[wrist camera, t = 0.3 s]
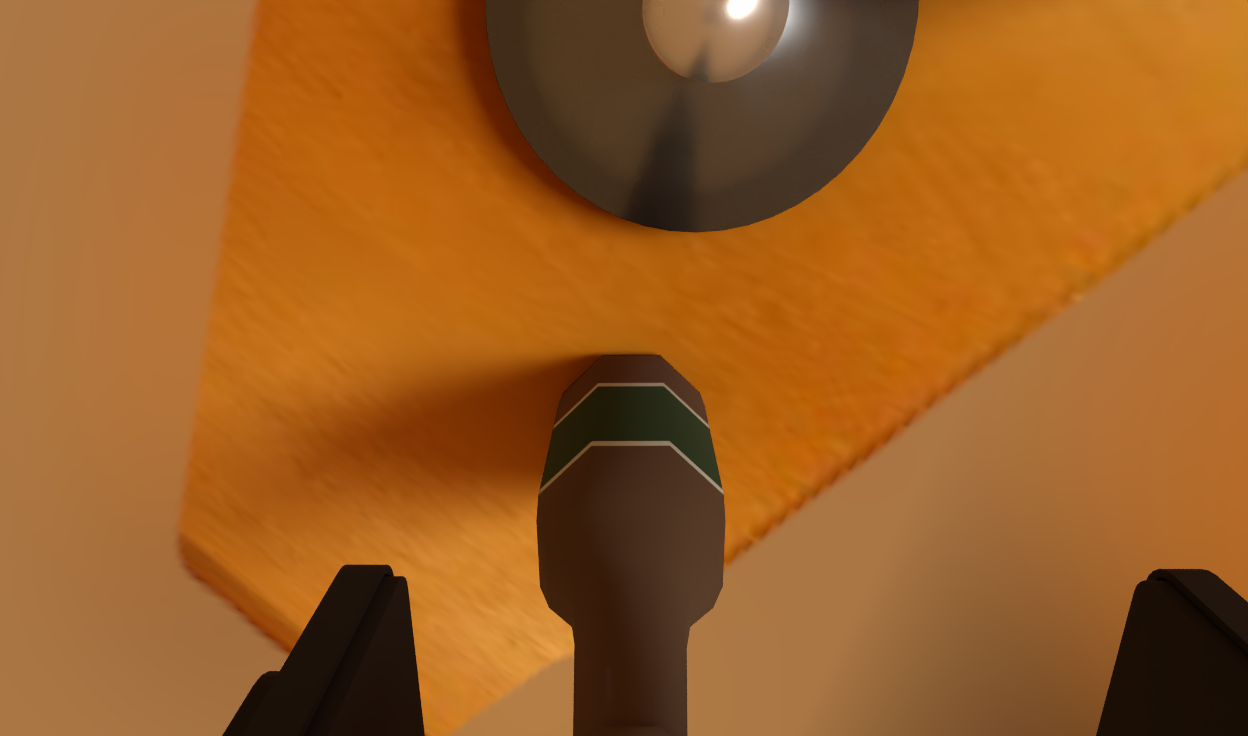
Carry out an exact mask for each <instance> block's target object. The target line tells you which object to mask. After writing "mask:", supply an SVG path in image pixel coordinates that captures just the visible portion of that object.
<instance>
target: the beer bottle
mask: <svg viewBox="0 0 1248 736" xmlns="http://www.w3.org/2000/svg"><path fill="white" fill-rule="evenodd" d="M537 538H538V557H539V575H540V587H541V590H542V592H543V594H544V597H545V599H546V601H547V604H548V606H549V608H550V609H551V610H553V611H554V612H555V613H556V614H557V615H558V616H560V617H561V618H562V619H563V620H564V621H566V622H567V623H568V624H569V625H570V626H571V627H572V630H573V637H574V644H575V651H574V717H573V736H687V659H686V658H687V652H686V651H687V643H688V636H689V630H690V627H691V626H692V625H693V624H694V623H695V622H697V621H698V620H699V619H700V618H701V617H702V616H704V615H705V614H706V613H707V612H709V611H710V610H711V609H712V608H713V607H714V604H715V602H716V600H717V598H718V596H719V593H720V591H721V589H722V587H723V564H724V540H725V508H724V494H723V489H722V485H721V480H720V476H719V471H718V466H717V462H716V457H715V452H714V448H713V443H712V438H711V434H710V429H709V424H708V420H707V415H706V411H705V406H704V403H703V400H702V398H701V395H700V392H698V391H697V390H696V389H695V388H694V387H693V386H692V385H691V384H690V383H689V382H688V381H687V380H686V379H685V378H684V377H683V376H682V375H680V374H679V373H678V372H677V371H676V370H675V369H674V368H673V367H672V366H671V365H670V364H669V363H668V362H667V361H666V360H665V359H664V358H663V357H661V356H660V355H602V356H601V357H600V358H599V359H598V360H597V361H596V362H595V363H594V364H593V365H592V366H591V367H590V368H589V369H588V370H587V371H586V372H585V373H584V374H582V375H581V376H580V377H579V378H578V379H577V380H576V381H575V382H574V383H573V384H572V385H571V386H570V387H569V388H568V389H567V390H566V391H565V392H564V393H563V395H562V398H561V400H560V403H559V405H558V410H557V414H556V419H555V423H554V428H553V432H552V437H551V441H550V446H549V450H548V455H547V459H546V463H545V468H544V472H543V477H542V481H541V486H540V490H539V495H538V508H537Z"/></svg>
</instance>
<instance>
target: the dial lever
mask: <svg viewBox="0 0 1248 736" xmlns="http://www.w3.org/2000/svg"><path fill="white" fill-rule="evenodd" d="M788 12H789V0H643V2H642V11H641V23H642V30H643V35H644V38H645V41H646V44H647V46H648V48H649V50H650V52H651V53H652V55H653V57H654V58H655V59H656V60H657V62H658V63H659V64H660V65H661V66H662V67H664V68H665V69H666V70H668V71H669V72H670V73H672V74H674V75H676V76H678V77H681V78H684V79H687V80H692V81H700V82H711V83H716V82H725V81H730V80H733V79H736V78H739V77H742V76H743V75H745V74H747V73H749V72H751V71H752V70H754V69H755V68H756V67H758V66H759V65H760V64H761V63H762V62H763V61H765V60H766V58H767V57H768V56H769V55H770V54H771V53H772V51H773V50H774V48H775V47H776V45H777V44H778V42H779V40H780V38H781V36H782V34H783V31H784V28H785V25H786V22H787V17H788Z"/></svg>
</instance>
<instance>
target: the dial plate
mask: <svg viewBox="0 0 1248 736" xmlns="http://www.w3.org/2000/svg"><path fill="white" fill-rule="evenodd" d="M642 2H643V0H486V26H487V34H488V42H489V50H490V54H491V58H492V62H493V66H494V70H495V74H496V78H497V81H498V84H499V86H500V89H501V91H502V94H503V97H504V99H505V102H506V105H507V107H508V109H509V111H510V113H511V114H512V116H513V118H514V120H515V122H516V124H517V126H518V128H519V130H520V131H521V133H522V134H523V136H524V137H525V139H526V140H527V141H528V143H529V144H530V146H531V147H532V149H533V150H534V152H535V153H536V154H537V155H538V157H539V158H540V159H541V160H542V161H543V162H544V163H545V164H546V165H547V167H548V168H549V169H550V170H551V171H552V172H553V173H554V174H555V175H556V176H557V177H558V178H559V179H561V180H562V181H563V182H564V183H565V184H566V185H567V186H569V187H570V188H571V189H572V190H573V191H574V192H576V193H577V194H579V195H580V196H582V197H583V198H585V199H586V200H588V201H590V202H591V203H593V204H594V205H596V206H597V207H599V208H601V209H603V210H605V211H607V212H610V213H612V214H614V215H616V216H618V217H620V218H623V219H626V220H629V221H632V222H635V223H638V224H641V225H644V226H648V227H653V228H658V229H663V230H669V231H682V232H708V231H722V230H727V229H732V228H737V227H741V226H746V225H750V224H753V223H756V222H759V221H762V220H764V219H767V218H770V217H773V216H775V215H777V214H779V213H781V212H783V211H785V210H787V209H789V208H792V207H794V206H796V205H797V204H799V203H801V202H802V201H804V200H805V199H807V198H808V197H810V196H811V195H813V194H814V193H816V192H817V191H819V190H820V189H822V188H823V187H824V186H825V185H826V184H827V183H829V182H830V181H831V180H832V179H833V178H835V177H836V176H837V175H838V174H839V173H841V172H842V171H843V169H844V168H845V167H846V166H847V165H848V164H849V163H850V162H851V161H852V160H853V159H854V158H855V157H856V156H857V155H858V153H859V152H860V151H861V150H862V149H863V147H864V146H865V145H866V143H867V142H868V140H869V139H870V138H871V136H872V135H873V134H874V132H875V131H876V130H877V128H878V127H879V125H880V123H881V121H882V120H883V118H884V116H885V114H886V113H887V111H888V109H889V107H890V106H891V104H892V102H893V100H894V97H895V95H896V93H897V90H898V88H899V85H900V83H901V81H902V78H903V76H904V73H905V70H906V66H907V63H908V60H909V56H910V53H911V49H912V46H913V41H914V35H915V29H916V23H917V17H918V2H919V0H789V12H788V17H787V22H786V25H785V28H784V31H783V34H782V36H781V38H780V40H779V42H778V44H777V45H776V47H775V48H774V50H773V51H772V53H771V54H770V55H769V56H768V57H767V58H766V60H765V61H763V62H762V63H761V64H760V65H759V66H758V67H756V68H755V69H754V70H752V71H751V72H749V73H747V74H745V75H743V76H742V77H739V78H736V79H733V80H730V81H725V82H716V83H711V82H700V81H692V80H687V79H684V78H681V77H678V76H676V75H674V74H672V73H670V72H669V71H668V70H666V69H665V68H664V67H662V66H661V65H660V64H659V63H658V62H657V60H656V59H655V58H654V57H653V55H652V53H651V52H650V50H649V48H648V46H647V44H646V41H645V38H644V35H643V30H642V23H641V11H642Z"/></svg>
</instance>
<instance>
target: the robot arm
mask: <svg viewBox="0 0 1248 736" xmlns="http://www.w3.org/2000/svg"><path fill="white" fill-rule="evenodd" d="M222 736H425V734H424V725H423V716H422V707H421V699H420V690H419V681H418V672H417V663H416V655H415V646H414V637H413V628H412V619H411V610H410V602H409V593H408V585H407V581H406V578H405V577H403V576H394V575H393V571H392V569H391V567H390V566H389V565H344V566H343V567H342V568H341V569H340V570H339V572H338V574H337V575H336V577H335V579H334V580H333V582H332V584H331V585H330V587H329V589H328V591H327V592H326V594H325V596H324V597H323V599H322V601H321V602H320V604H319V606H318V607H317V609H316V611H315V613H314V614H313V616H312V618H311V619H310V621H309V623H308V624H307V626H306V628H305V629H304V631H303V633H302V635H301V636H300V638H299V640H298V641H297V643H296V645H295V646H294V648H293V650H292V651H291V653H290V655H289V657H288V658H287V660H286V662H285V663H284V665H283V667H282V669H281V670H280V671H268V672H267V673H265V674H263V675H262V676H261V677H260V678H259V679H258V680H257V682H256V683H255V684H254V685H253V687H252V689H251V690H250V692H249V693H248V695H247V697H246V698H245V700H244V701H243V703H242V705H241V706H240V708H239V710H238V711H237V713H236V714H235V716H234V718H233V719H232V721H231V723H230V724H229V726H228V727H227V729H226V731H225V732H224V734H223V735H222ZM1096 736H1248V602H1247V601H1246V600H1244V599H1243V598H1242V597H1241V596H1240V595H1239V594H1238V593H1236V592H1235V591H1234V590H1233V589H1232V588H1231V587H1229V586H1228V585H1227V584H1226V583H1224V581H1222V580H1221V579H1220V578H1219V577H1218V576H1217V575H1215V574H1213V573H1212V572H1210V571H1208V570H1203V569H1158V570H1155V571H1153V572H1152V573H1151V574H1150V575H1149V576H1148V578H1147V580H1146V581H1142V582H1140V583H1139V584H1138V585H1137V586H1136V589H1135V591H1134V594H1133V598H1132V602H1131V606H1130V609H1129V613H1128V617H1127V621H1126V624H1125V628H1124V632H1123V636H1122V640H1121V643H1120V647H1119V651H1118V655H1117V659H1116V662H1115V666H1114V670H1113V674H1112V677H1111V681H1110V685H1109V689H1108V692H1107V696H1106V700H1105V704H1104V708H1103V712H1102V715H1101V719H1100V723H1099V727H1098V731H1097V735H1096Z"/></svg>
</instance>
